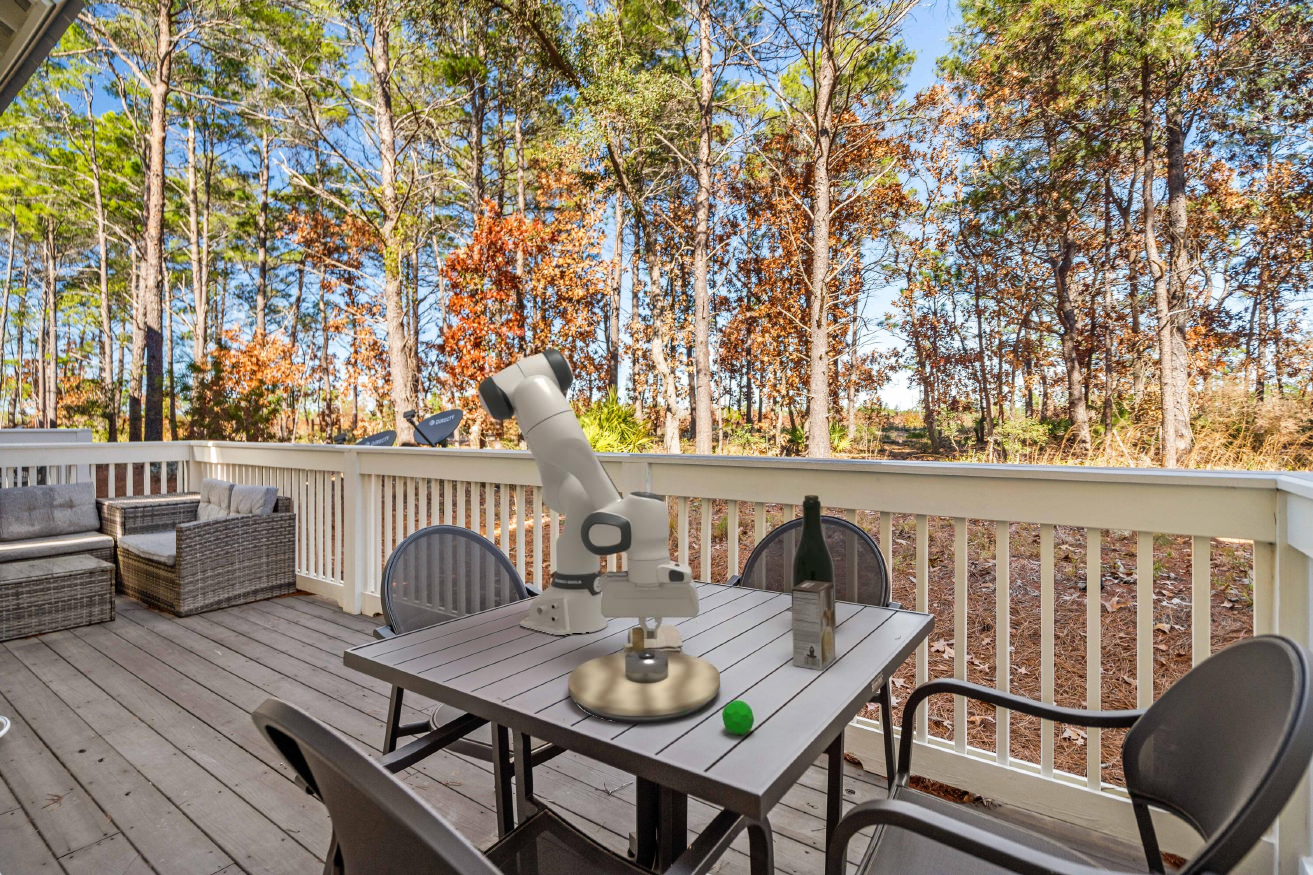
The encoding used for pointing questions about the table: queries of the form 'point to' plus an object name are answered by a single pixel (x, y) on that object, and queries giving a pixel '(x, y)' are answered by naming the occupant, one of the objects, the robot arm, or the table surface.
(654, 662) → the iron cover
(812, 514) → the wine bottle
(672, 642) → the washcloth
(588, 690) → the turntable
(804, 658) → the coffee box
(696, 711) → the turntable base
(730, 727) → the polyhedron
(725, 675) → the table surface
